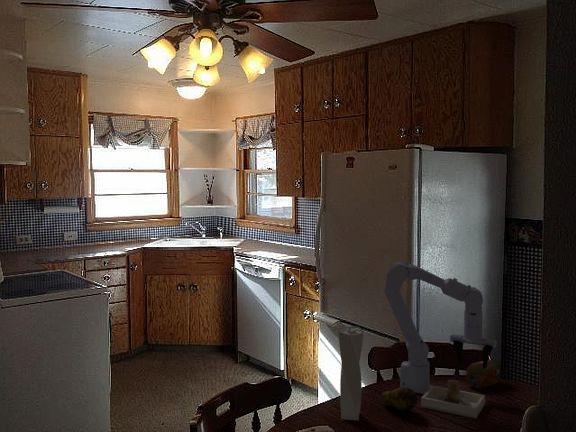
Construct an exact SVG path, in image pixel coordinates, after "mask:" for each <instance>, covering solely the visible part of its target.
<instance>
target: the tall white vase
mask: <svg viewBox="0 0 576 432" xmlns="http://www.w3.org/2000/svg"><path fill="white" fill-rule="evenodd" d="M357 329H359V330H360V331H358V330H357ZM338 342H339V343H338V344H339V351H340V361H341V362H340V363H341V367H340V379H339V382H340V383H339V385H340V386H339V387H340V389H339V390H340V391H339V393H340V394H339V399H340V417H341V419H340V420H345V421H357V422H358V421H360V414H361V406H362V390H363V389H362V388H363V387H362V383H363V382H362V374H361V373H362V372H361V370H362V369H361V365H360V360H361V355H362V351H363V350H362V348H363V342H364V331H363V329H362V328H361V327H360V326H357V325H355V326H354V325H353V326H350V327H349V326H348V327H341V328H339V329H338Z"/></svg>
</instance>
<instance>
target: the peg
mask: <svg viewBox="0 0 576 432" xmlns="http://www.w3.org/2000/svg"><path fill="white" fill-rule="evenodd" d="M460 383H461V382H460V381H458V380H456V379H449V380H447V388H448V397H447V402H450V403H455V404H459V391H461V390H460Z"/></svg>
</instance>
